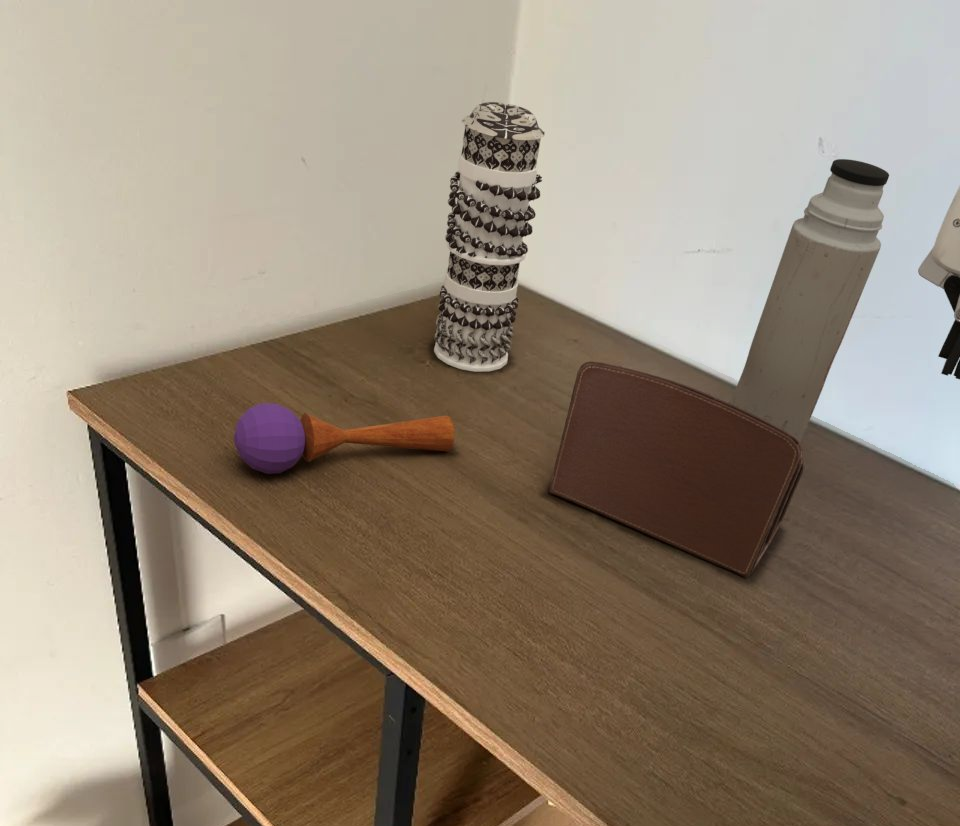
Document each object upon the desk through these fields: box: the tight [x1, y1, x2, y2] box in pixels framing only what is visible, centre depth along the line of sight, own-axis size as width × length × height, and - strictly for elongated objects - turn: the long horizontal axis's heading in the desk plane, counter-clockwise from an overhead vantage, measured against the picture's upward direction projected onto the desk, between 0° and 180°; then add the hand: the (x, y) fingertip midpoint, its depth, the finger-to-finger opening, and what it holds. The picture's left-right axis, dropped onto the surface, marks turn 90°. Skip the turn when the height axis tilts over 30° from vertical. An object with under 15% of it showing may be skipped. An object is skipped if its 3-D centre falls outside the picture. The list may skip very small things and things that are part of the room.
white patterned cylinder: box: [433, 101, 546, 373], centre depth 100 cm, size 9×9×25 cm
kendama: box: [233, 402, 455, 475], centre depth 87 cm, size 6×6×20 cm
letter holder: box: [549, 360, 806, 579], centre depth 85 cm, size 10×20×14 cm, turn 61°
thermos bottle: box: [730, 158, 890, 443], centre depth 92 cm, size 8×8×28 cm
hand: (953, 370), depth 74 cm, fingers closed
